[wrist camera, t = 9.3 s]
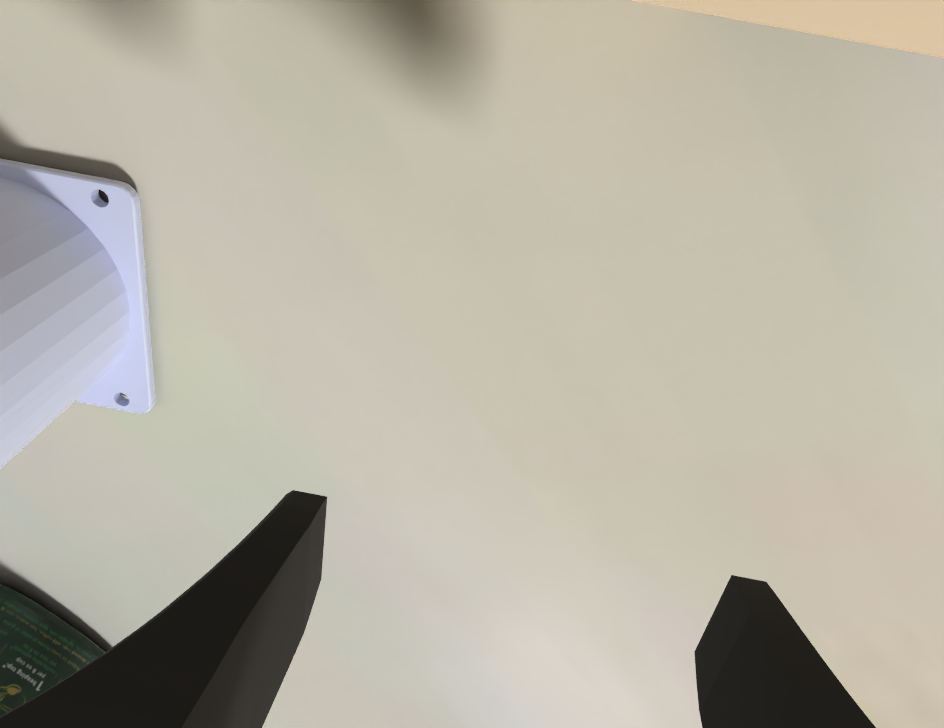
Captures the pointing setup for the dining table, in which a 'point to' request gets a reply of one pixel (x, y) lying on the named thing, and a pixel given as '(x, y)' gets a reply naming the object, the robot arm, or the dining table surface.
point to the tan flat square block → (839, 19)
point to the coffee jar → (36, 649)
